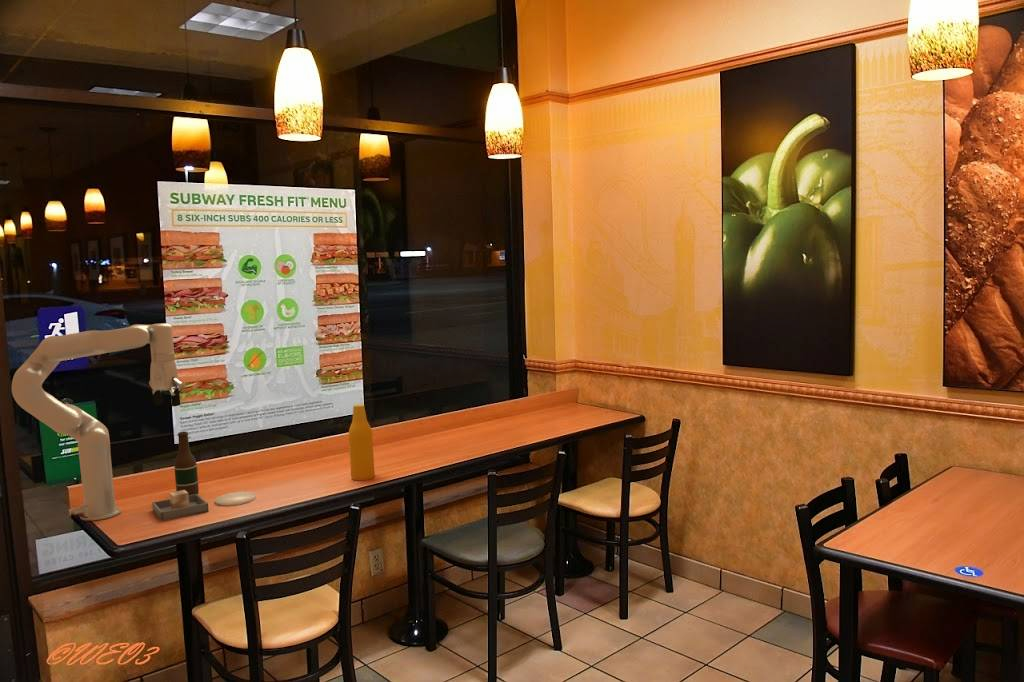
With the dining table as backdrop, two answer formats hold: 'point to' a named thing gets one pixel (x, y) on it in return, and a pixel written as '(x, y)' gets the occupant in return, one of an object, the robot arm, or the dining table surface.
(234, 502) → the off-white plate
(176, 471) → the beer bottle
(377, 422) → the dining table surface
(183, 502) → the birch block
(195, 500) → the gray bin
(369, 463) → the beer bottle
